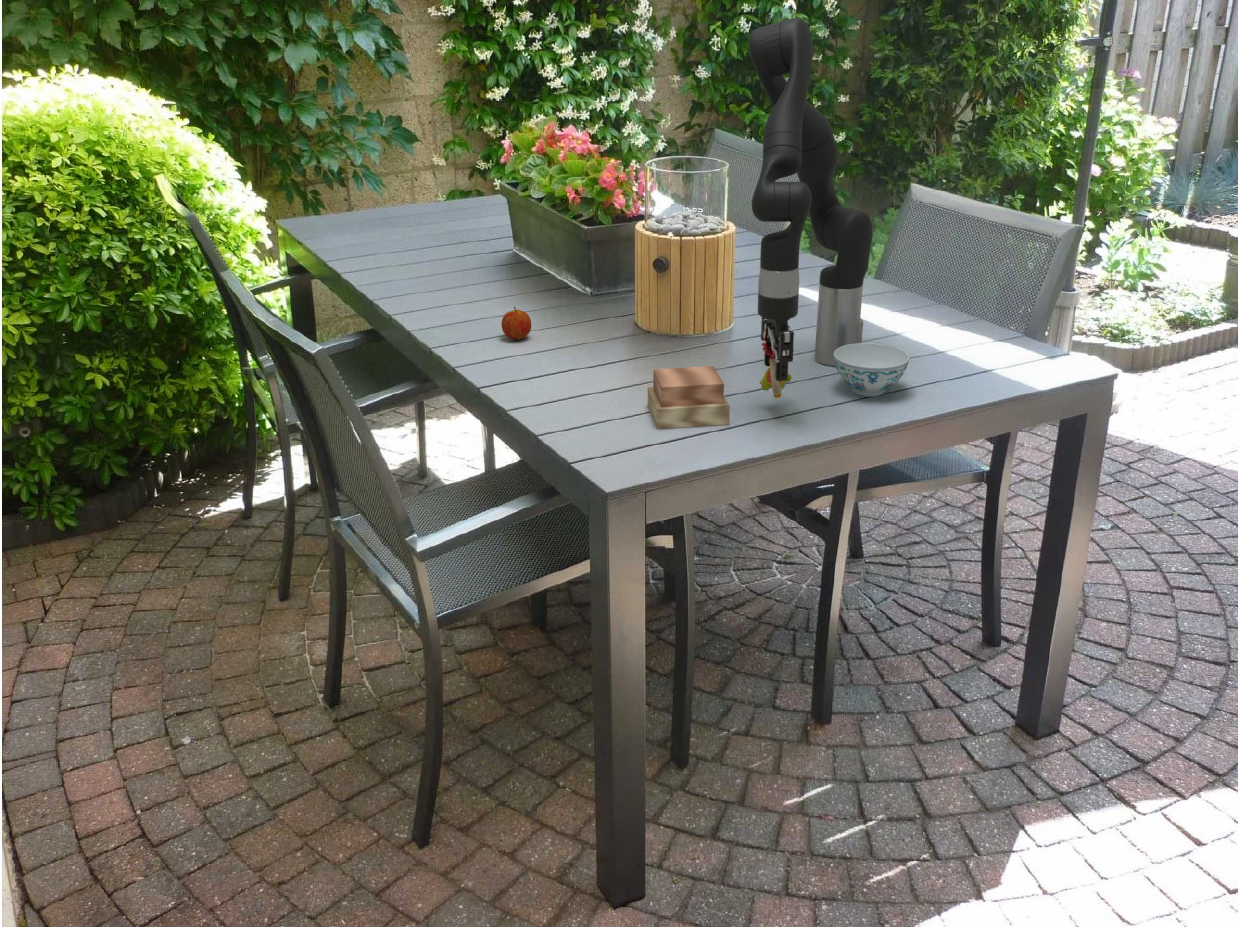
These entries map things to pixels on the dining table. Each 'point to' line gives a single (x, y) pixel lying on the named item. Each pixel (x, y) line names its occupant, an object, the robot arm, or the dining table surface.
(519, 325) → the fruit
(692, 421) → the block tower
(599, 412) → the dining table surface
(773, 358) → the bird rattle
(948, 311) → the dining table surface
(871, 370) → the chinaware
